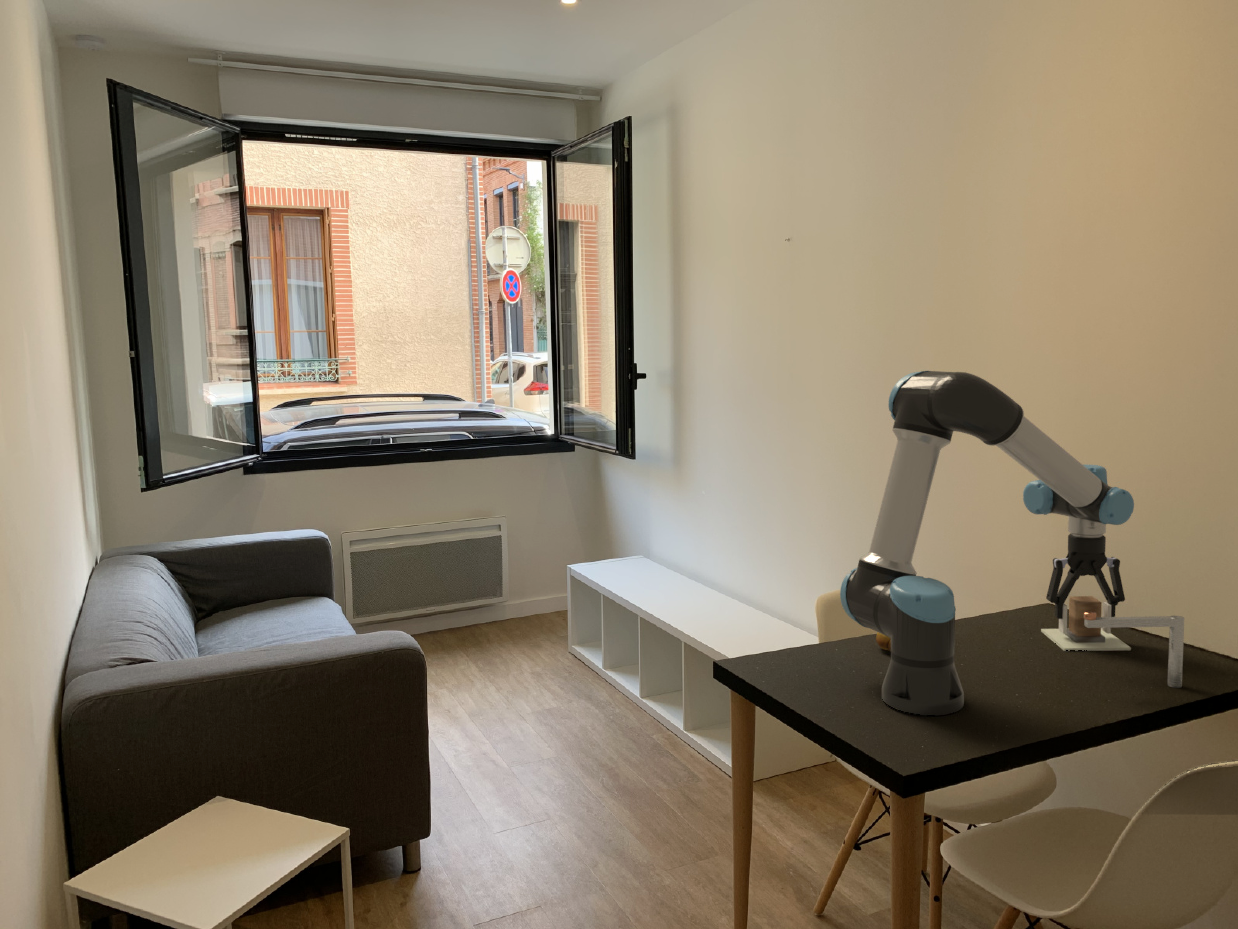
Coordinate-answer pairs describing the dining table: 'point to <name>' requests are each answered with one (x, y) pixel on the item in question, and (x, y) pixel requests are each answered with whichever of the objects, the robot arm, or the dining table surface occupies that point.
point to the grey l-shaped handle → (1155, 621)
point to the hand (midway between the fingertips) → (1084, 631)
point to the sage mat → (1068, 644)
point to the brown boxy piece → (1076, 620)
